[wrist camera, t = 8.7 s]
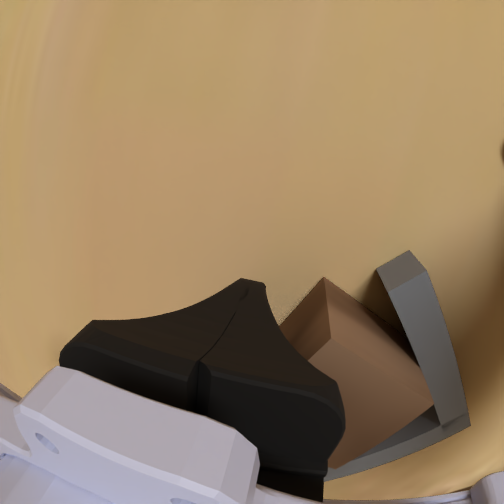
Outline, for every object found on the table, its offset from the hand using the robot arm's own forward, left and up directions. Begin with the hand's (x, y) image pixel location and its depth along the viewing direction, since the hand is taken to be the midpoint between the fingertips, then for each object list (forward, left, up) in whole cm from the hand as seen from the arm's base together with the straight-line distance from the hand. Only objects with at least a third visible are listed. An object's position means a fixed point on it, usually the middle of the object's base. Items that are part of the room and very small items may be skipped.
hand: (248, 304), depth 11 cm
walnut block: (-1, +4, -1) cm, 4 cm away
